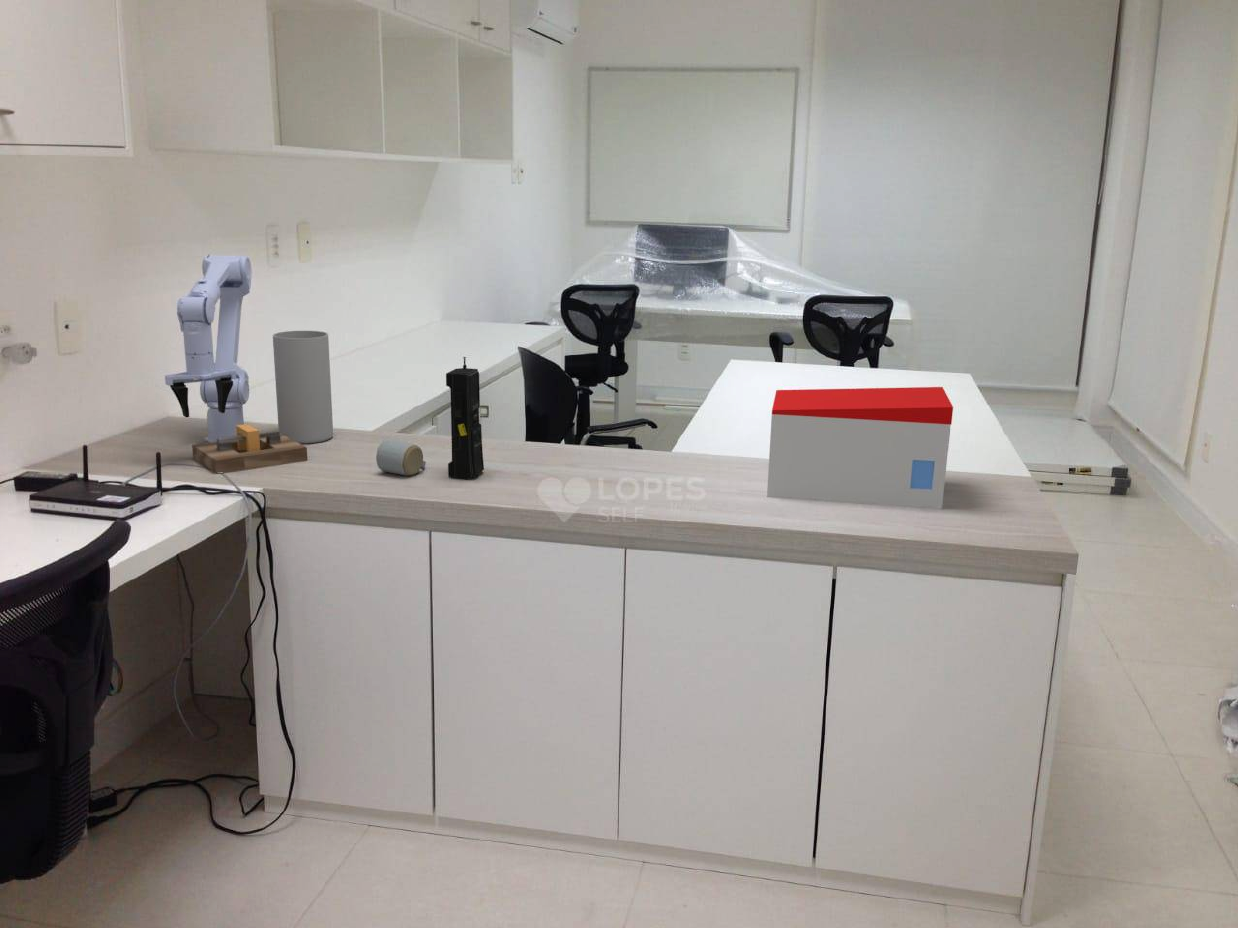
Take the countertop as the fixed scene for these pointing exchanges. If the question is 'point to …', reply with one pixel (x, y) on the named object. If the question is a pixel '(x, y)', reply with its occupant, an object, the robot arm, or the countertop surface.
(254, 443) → the orange c-shaped bracket
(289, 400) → the cylinder vase
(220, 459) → the hook board
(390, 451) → the ceramic mug
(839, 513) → the countertop surface
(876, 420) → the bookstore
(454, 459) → the portable radio
